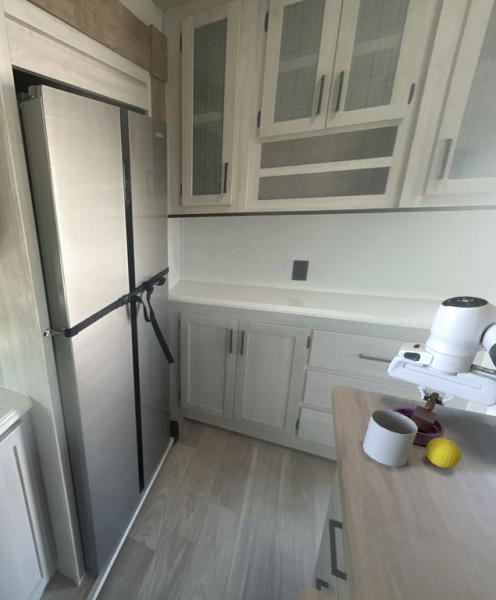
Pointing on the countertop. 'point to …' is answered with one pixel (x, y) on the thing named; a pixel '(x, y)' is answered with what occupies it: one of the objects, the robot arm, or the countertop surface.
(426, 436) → the bowl
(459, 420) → the countertop surface
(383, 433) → the cup
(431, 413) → the brush
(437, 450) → the lemon
